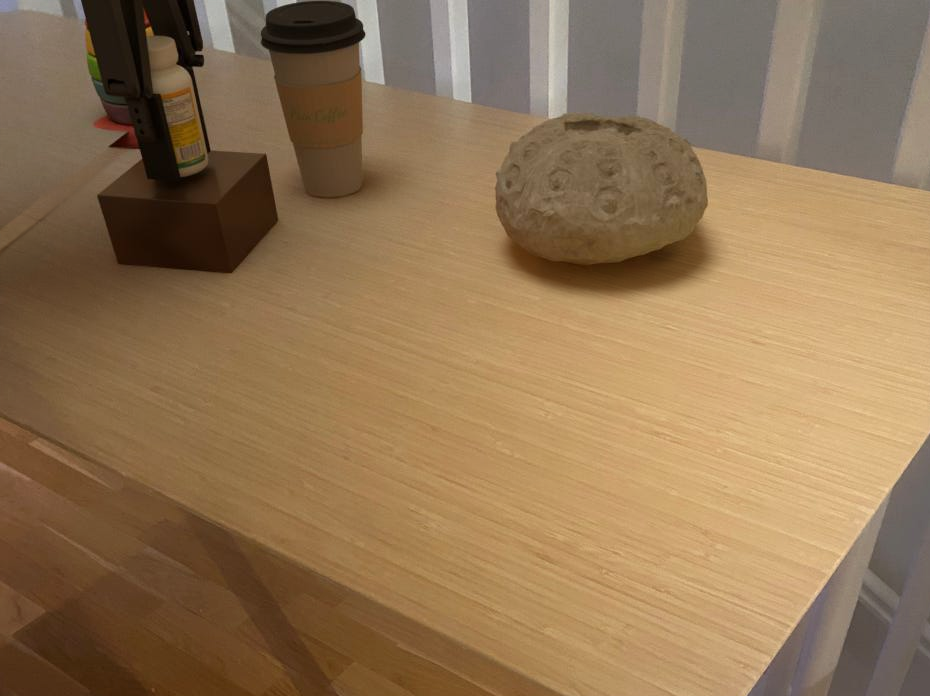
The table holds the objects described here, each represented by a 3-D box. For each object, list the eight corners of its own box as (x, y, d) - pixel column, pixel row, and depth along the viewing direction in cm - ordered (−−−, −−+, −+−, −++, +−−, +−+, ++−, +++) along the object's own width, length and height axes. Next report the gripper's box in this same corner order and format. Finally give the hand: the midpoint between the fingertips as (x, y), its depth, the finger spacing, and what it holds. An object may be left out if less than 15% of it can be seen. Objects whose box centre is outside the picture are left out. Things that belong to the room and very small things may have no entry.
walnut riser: (117, 263, 88) (96, 195, 83) (172, 212, 95) (155, 146, 91) (231, 273, 85) (215, 203, 81) (278, 219, 93) (266, 153, 88)
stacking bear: (144, 111, 115) (96, -74, 102) (214, 122, 112) (173, -68, 99) (81, 143, 109) (21, -50, 96) (153, 155, 105) (101, -42, 92)
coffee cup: (302, 212, 94) (272, 34, 83) (275, 178, 100) (244, 7, 89) (394, 193, 96) (377, 17, 85) (362, 160, 102) (343, -8, 91)
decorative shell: (593, 187, 95) (598, 73, 88) (743, 243, 86) (762, 120, 79) (456, 247, 87) (449, 127, 80) (604, 316, 78) (612, 187, 71)
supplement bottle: (201, 179, 84) (173, 52, 77) (139, 179, 84) (106, 53, 77) (215, 154, 87) (190, 31, 80) (156, 155, 87) (125, 33, 80)
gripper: (77, -161, 62) (172, 211, 78) (202, -200, 74) (261, 129, 91) (-27, -161, 63) (87, 205, 80) (112, -200, 75) (186, 124, 92)
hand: (179, 164), depth 85 cm, fingers closed on supplement bottle, 5 cm apart
